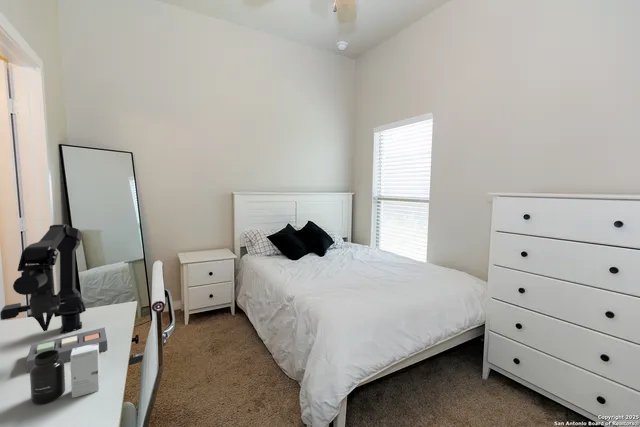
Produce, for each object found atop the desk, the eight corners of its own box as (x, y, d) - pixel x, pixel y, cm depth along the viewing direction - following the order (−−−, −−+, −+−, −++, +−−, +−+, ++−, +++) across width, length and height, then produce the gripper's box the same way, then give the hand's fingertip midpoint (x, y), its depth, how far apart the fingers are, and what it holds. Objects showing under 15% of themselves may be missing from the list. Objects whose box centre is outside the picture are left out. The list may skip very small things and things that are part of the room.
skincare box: (71, 399, 79) (68, 356, 78) (73, 389, 83) (71, 348, 82) (100, 390, 83) (97, 349, 82) (101, 381, 86) (98, 342, 85)
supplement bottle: (36, 409, 75) (33, 365, 74) (28, 399, 79) (24, 356, 78) (70, 393, 81) (67, 352, 80) (60, 384, 85) (57, 345, 84)
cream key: (62, 346, 101) (62, 339, 101) (77, 342, 104) (77, 335, 104) (62, 351, 98) (61, 344, 98) (77, 347, 101) (77, 340, 100)
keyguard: (32, 354, 99) (31, 344, 99) (105, 336, 112) (104, 327, 112) (27, 372, 90) (26, 361, 90) (107, 349, 103) (106, 340, 102)
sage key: (38, 352, 97) (37, 345, 97) (54, 348, 100) (54, 341, 100) (37, 357, 94) (36, 350, 94) (53, 353, 97) (53, 346, 97)
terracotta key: (85, 343, 105) (84, 336, 105) (98, 339, 108) (98, 333, 107) (85, 348, 102) (84, 341, 102) (99, 344, 105) (99, 337, 104)
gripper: (-6, 298, 83) (-1, 351, 85) (79, 284, 95) (82, 331, 96) (1, 287, 92) (6, 335, 93) (79, 276, 104) (81, 319, 105)
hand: (45, 330), depth 97 cm, fingers closed
